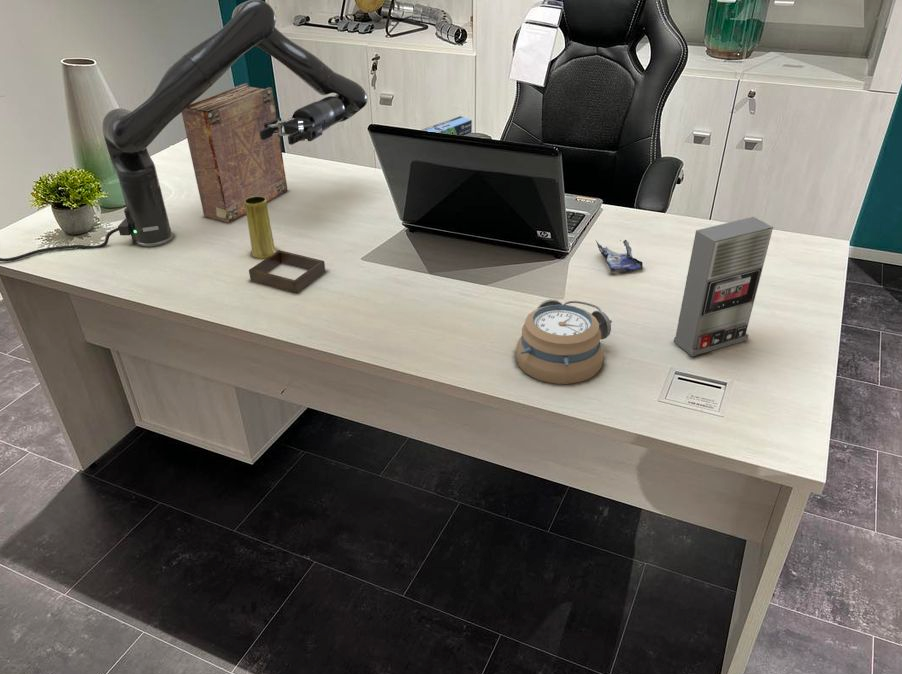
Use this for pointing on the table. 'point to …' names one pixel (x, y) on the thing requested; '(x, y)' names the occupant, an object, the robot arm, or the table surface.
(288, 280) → the open brown wooden box
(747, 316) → the cassette tape recorder
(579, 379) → the alarm clock
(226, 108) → the book
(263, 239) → the vase
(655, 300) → the table surface
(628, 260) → the snack package
